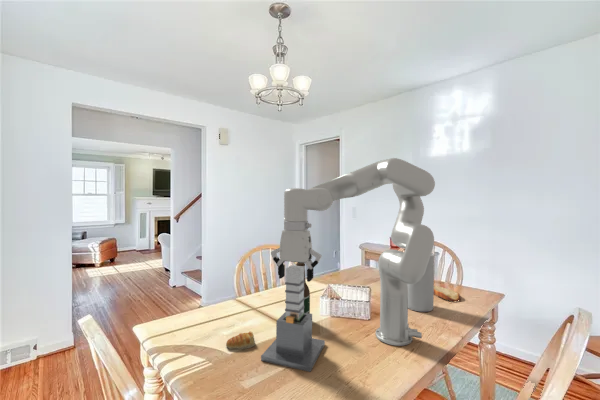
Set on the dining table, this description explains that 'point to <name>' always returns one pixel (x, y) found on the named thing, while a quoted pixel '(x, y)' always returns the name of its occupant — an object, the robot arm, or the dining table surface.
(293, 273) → the column
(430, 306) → the cylinder vase
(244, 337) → the pastry
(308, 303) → the beer bottle
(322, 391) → the dining table surface
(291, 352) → the stand
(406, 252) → the robot arm
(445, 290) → the slice of bread
